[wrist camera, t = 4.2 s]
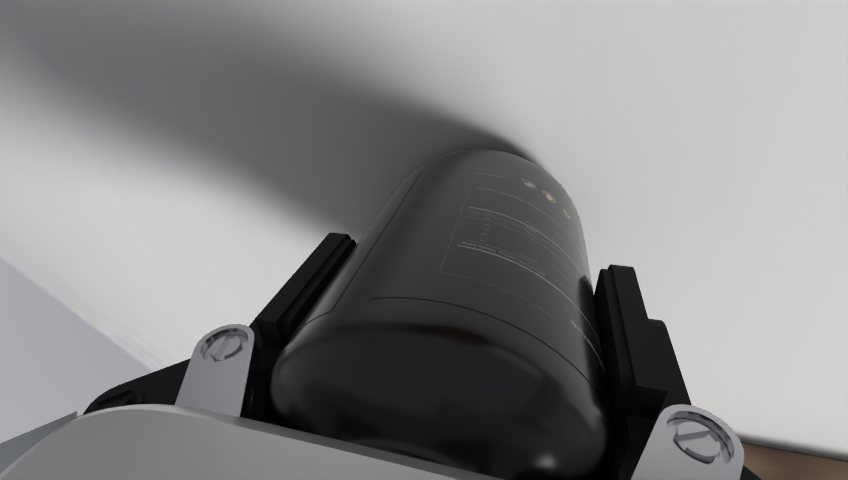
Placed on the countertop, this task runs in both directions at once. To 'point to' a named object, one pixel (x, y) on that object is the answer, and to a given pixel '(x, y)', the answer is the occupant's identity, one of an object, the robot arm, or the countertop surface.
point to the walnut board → (791, 465)
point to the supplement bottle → (460, 331)
